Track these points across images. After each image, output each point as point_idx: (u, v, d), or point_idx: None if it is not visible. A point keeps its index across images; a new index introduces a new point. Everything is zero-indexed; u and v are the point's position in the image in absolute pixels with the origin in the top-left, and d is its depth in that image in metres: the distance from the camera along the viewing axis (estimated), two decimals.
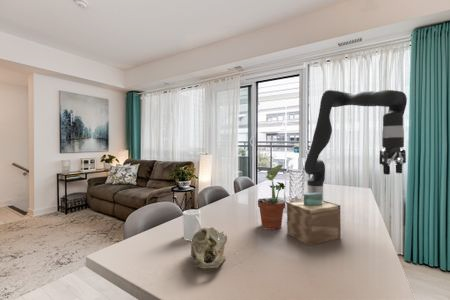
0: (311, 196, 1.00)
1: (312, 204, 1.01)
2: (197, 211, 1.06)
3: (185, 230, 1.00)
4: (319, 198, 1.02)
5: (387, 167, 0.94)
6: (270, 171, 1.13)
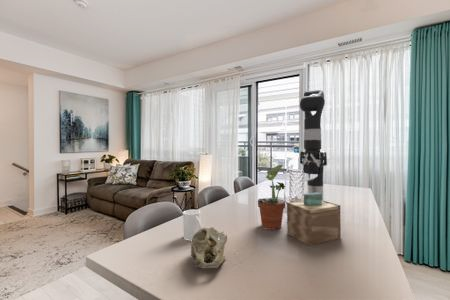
0: (311, 196, 1.00)
1: (312, 204, 1.01)
2: (197, 211, 1.06)
3: (185, 230, 1.00)
4: (319, 198, 1.02)
5: None
6: (270, 171, 1.13)
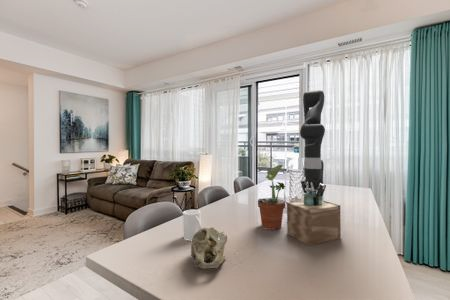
0: (311, 196, 1.00)
1: (312, 204, 1.01)
2: (197, 211, 1.06)
3: (185, 230, 1.00)
4: (319, 198, 1.02)
5: None
6: (270, 171, 1.13)
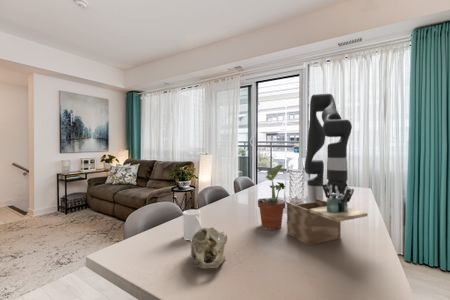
0: (336, 202, 0.88)
1: (337, 211, 0.88)
2: (197, 211, 1.06)
3: (185, 230, 1.00)
4: None
5: None
6: (270, 171, 1.13)
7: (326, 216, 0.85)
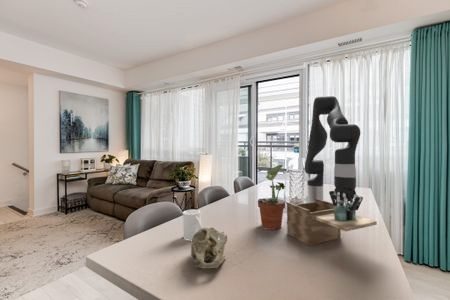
0: (344, 210, 0.85)
1: (345, 219, 0.85)
2: (197, 211, 1.06)
3: (185, 230, 1.00)
4: None
5: None
6: (270, 171, 1.13)
7: (334, 225, 0.82)
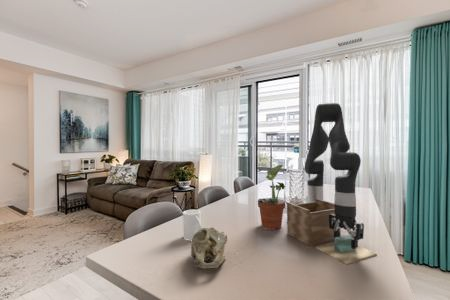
0: (344, 241, 0.85)
1: (345, 251, 0.85)
2: (197, 211, 1.06)
3: (185, 230, 1.00)
4: None
5: None
6: (270, 171, 1.12)
7: None
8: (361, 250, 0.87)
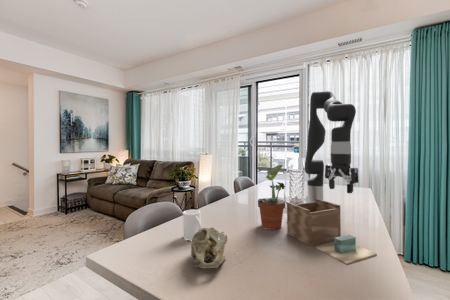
0: (344, 241, 0.85)
1: (345, 251, 0.85)
2: (197, 211, 1.06)
3: (185, 230, 1.00)
4: (352, 243, 0.87)
5: None
6: (270, 171, 1.13)
7: None
8: (361, 250, 0.87)
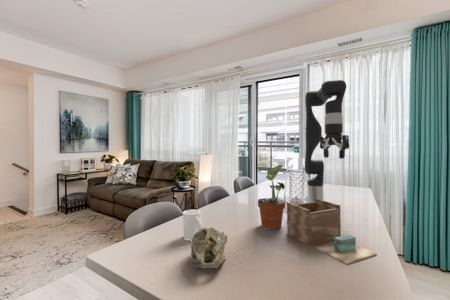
0: (344, 241, 0.85)
1: (345, 251, 0.85)
2: (197, 211, 1.06)
3: (185, 230, 1.00)
4: (352, 243, 0.87)
5: None
6: (270, 171, 1.13)
7: None
8: (361, 250, 0.87)
